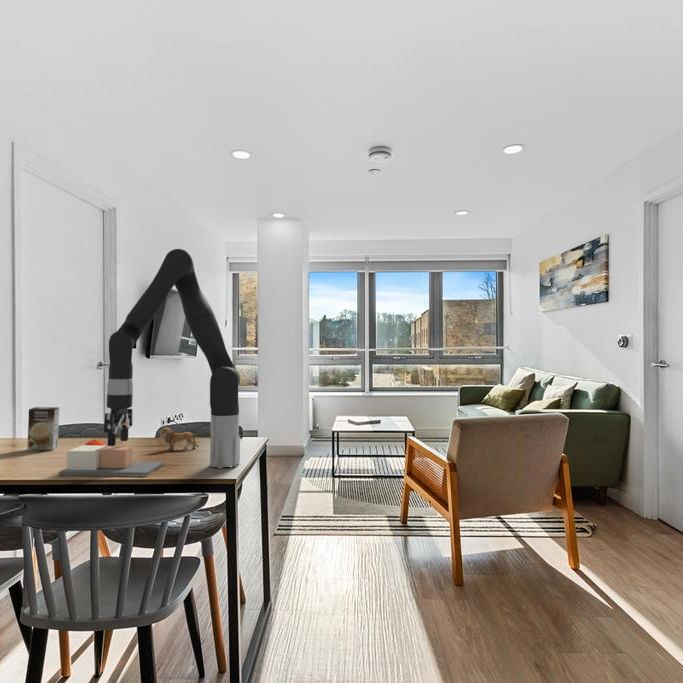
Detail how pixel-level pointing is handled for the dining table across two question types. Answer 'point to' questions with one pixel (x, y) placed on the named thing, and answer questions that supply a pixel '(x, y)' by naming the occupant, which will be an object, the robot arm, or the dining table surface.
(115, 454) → the stub
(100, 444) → the clementine
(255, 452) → the dining table surface
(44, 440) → the coffee box
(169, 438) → the lion figurine
